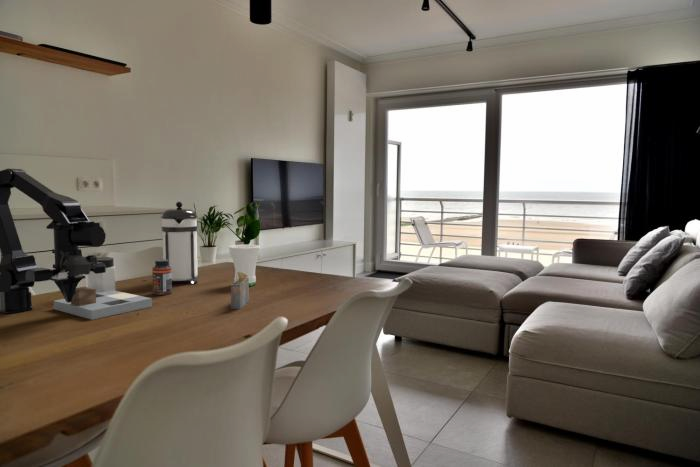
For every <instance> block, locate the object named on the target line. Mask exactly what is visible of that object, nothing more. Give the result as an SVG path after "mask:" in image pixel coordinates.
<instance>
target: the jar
mask: <svg viewBox="0 0 700 467" xmlns="http://www.w3.org/2000/svg"><path fill="white" fill-rule="evenodd" d="M96 257H97V262H101V263H104V265H105V266H106V272H105V273H98V274H95V273H94V272H93V271H90V273H89V274H87V275H86V274H84V276H86V277H85V287H90V288H94V289H96V293H100V292H106V291H111V290H114V291H116V271H115V270H116V268H115V265H114V262H115V261H114V260H115V259H114V257H110V256H101V257H99V256H96Z"/></svg>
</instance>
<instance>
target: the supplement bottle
mask: <svg viewBox="0 0 700 467" xmlns="http://www.w3.org/2000/svg"><path fill="white" fill-rule="evenodd" d="M154 262H155V265H154V266H153V267H152V272H151V273H152V294H153V295H155V296H166V295H170V294H172V292H173V287H172V285H173V284H172V283H173V281H172V272H171V267H170V266H169V265H168V260H166V259H163V258H162V259H156V260H154Z"/></svg>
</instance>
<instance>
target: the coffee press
mask: <svg viewBox="0 0 700 467" xmlns="http://www.w3.org/2000/svg"><path fill="white" fill-rule="evenodd" d="M175 206H176V208H169V209H165V210H164V211H163V212H162V214H161V216H160V218H161V219H160V220H161V232H162V259H166V260H168V265H169V266H170V267H171V272H172V282H181V281H184V282H185V281H187V282H190V283H191V284H192V285H196V284H198V281H197V278H198V225H197V222H198V220H197V219H198V215H197V213H196V211H195V210H193V209H191V208H182V207H183V203H182V202H181V201H177V202H176V204H175Z"/></svg>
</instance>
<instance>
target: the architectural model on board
mask: <svg viewBox="0 0 700 467" xmlns="http://www.w3.org/2000/svg"><path fill="white" fill-rule="evenodd" d="M237 273H238V272H237ZM238 276H239V279H238V280H237V281H235V280H234V282H232V284H230V310H241V309H242V308H243V307H244V306H245V305H246V304H247V303H248V302H249V298H250V296H249V295H250V294H249V291H250V290H249V288H250V286H249V278H247V275H245V274H243V273H241V272H239V273H238Z"/></svg>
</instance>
